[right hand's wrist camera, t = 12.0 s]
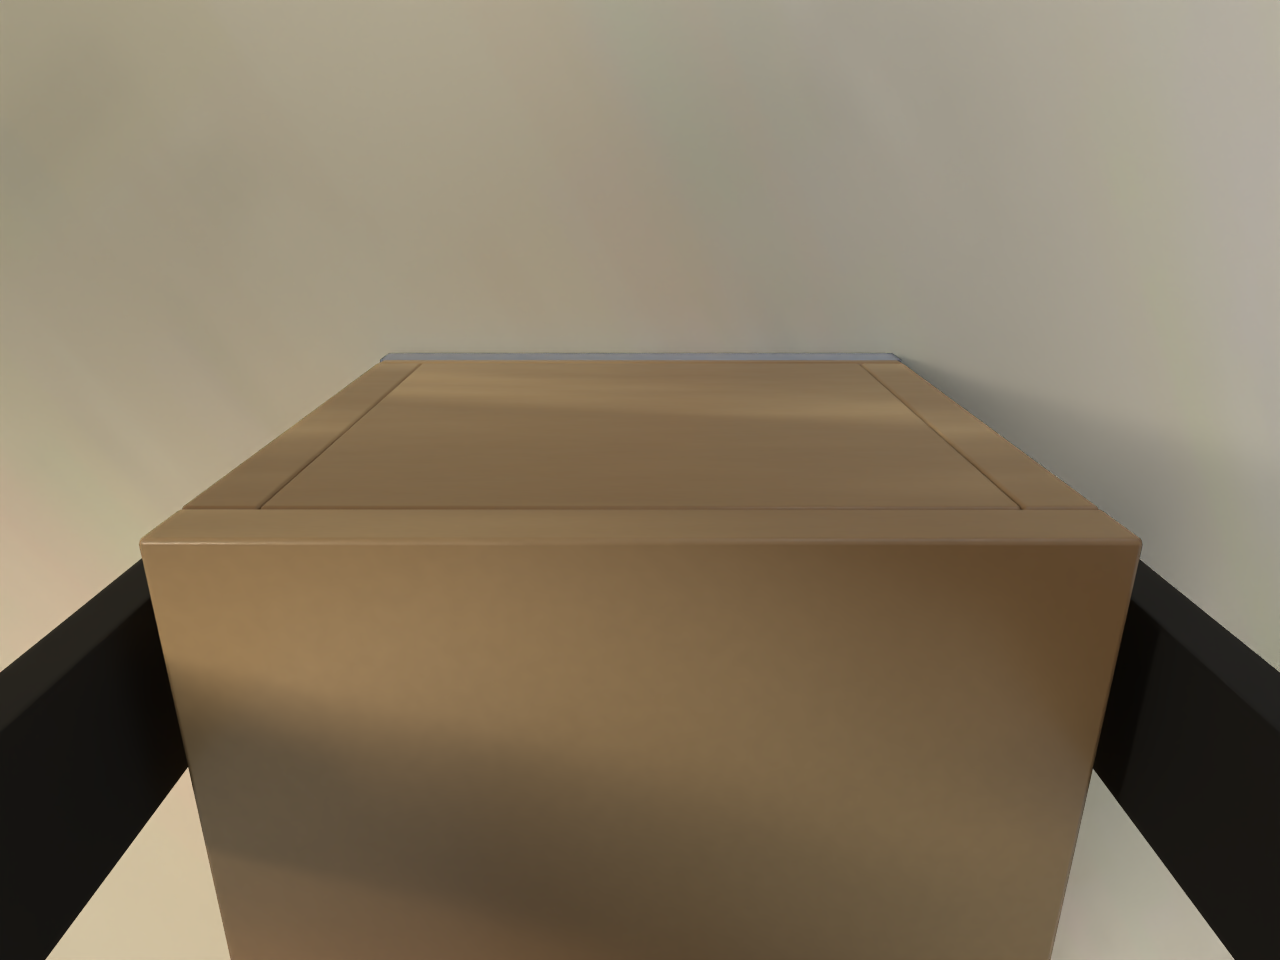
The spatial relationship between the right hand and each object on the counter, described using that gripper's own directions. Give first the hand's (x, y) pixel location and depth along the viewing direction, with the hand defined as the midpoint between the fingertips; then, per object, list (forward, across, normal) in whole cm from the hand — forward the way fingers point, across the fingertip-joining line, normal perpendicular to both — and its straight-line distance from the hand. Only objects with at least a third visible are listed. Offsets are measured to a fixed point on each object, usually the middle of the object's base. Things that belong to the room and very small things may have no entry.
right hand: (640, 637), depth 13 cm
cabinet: (+8, 0, -6) cm, 10 cm away
